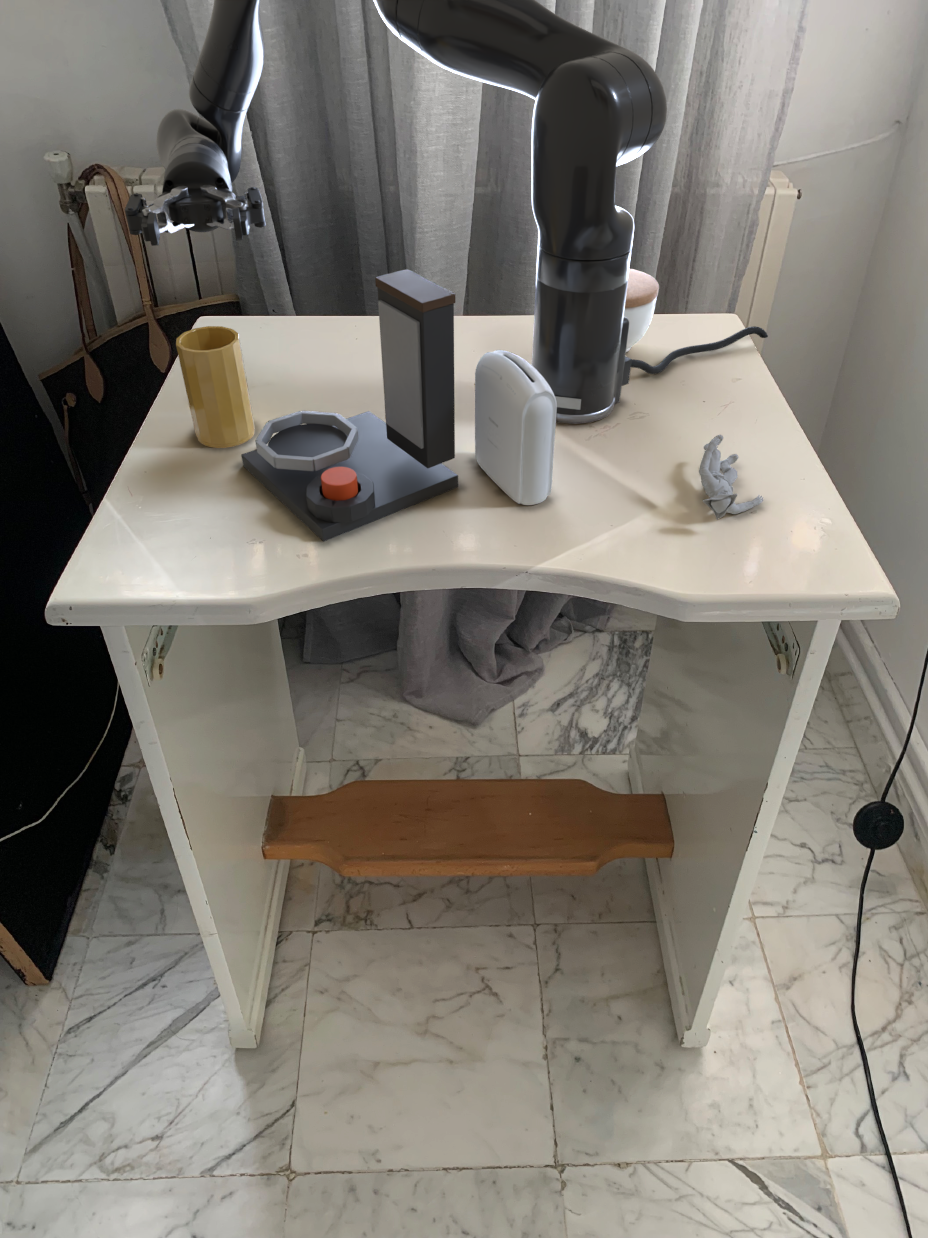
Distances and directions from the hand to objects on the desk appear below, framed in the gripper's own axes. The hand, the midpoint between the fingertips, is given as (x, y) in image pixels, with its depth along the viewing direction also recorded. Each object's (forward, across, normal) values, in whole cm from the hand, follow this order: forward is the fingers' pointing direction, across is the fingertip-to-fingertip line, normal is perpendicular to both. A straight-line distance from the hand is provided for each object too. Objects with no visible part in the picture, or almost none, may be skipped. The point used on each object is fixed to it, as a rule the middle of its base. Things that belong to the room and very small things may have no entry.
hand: (195, 233), depth 92 cm
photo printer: (+26, +28, +17) cm, 42 cm away
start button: (+29, +11, +14) cm, 34 cm away
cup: (+11, 0, +17) cm, 20 cm away
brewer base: (+22, +12, +17) cm, 30 cm away
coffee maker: (+22, +12, +14) cm, 29 cm away
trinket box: (-2, +47, +17) cm, 50 cm away
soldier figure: (+33, +46, +17) cm, 59 cm away
